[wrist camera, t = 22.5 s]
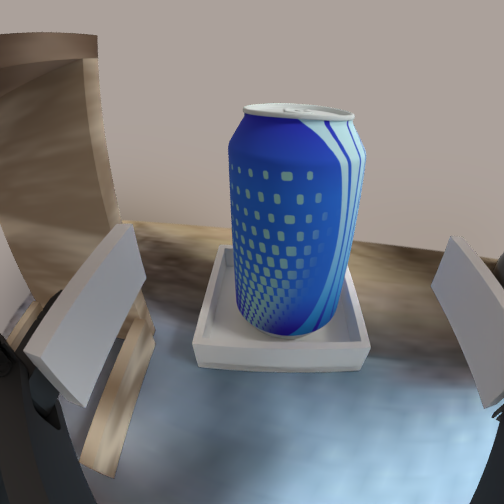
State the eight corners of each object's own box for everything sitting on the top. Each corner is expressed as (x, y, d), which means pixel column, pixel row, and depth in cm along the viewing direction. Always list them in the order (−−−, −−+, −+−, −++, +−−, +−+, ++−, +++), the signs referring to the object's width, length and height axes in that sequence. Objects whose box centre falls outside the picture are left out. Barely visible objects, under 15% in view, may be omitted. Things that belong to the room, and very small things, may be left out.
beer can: (351, 304, 24) (388, 117, 15) (294, 365, 19) (324, 122, 10) (280, 266, 29) (286, 101, 20) (216, 309, 24) (197, 109, 15)
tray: (337, 272, 29) (342, 248, 28) (359, 370, 19) (371, 347, 17) (221, 268, 30) (219, 244, 28) (198, 367, 20) (191, 343, 18)
